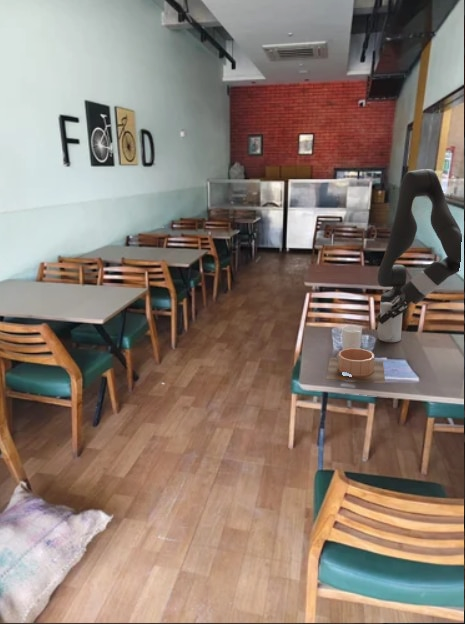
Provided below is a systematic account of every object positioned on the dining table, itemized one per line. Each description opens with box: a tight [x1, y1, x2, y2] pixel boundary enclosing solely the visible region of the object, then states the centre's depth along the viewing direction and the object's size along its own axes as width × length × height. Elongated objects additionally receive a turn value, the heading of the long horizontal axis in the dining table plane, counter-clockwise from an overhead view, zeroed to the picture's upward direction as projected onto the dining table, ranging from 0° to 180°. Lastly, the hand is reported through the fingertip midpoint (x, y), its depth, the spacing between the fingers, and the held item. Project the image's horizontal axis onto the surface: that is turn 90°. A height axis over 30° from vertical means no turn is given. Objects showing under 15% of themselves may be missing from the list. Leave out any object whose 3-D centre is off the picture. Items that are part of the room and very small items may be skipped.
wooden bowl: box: [337, 348, 375, 377], centre depth 158 cm, size 13×13×6 cm
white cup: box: [341, 325, 363, 350], centre depth 177 cm, size 8×8×10 cm
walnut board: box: [325, 357, 386, 385], centre depth 159 cm, size 20×20×1 cm
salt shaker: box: [376, 302, 394, 340], centre depth 152 cm, size 6×6×13 cm
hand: (379, 320), depth 152 cm, fingers closed on salt shaker, 3 cm apart
